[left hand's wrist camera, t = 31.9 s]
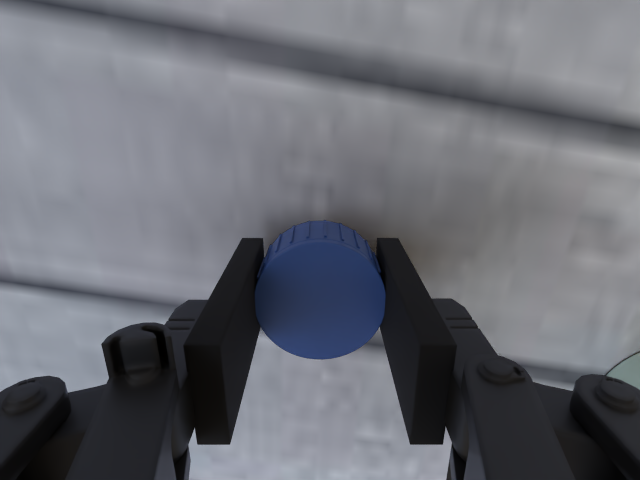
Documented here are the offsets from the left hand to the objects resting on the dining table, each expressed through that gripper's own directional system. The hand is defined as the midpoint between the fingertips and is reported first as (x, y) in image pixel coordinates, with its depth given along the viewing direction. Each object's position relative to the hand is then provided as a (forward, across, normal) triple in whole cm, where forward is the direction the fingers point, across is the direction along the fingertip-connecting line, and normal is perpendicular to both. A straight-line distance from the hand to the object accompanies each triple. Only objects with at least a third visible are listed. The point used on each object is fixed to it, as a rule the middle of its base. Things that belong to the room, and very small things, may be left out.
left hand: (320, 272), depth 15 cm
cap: (-2, 0, 0) cm, 2 cm away
